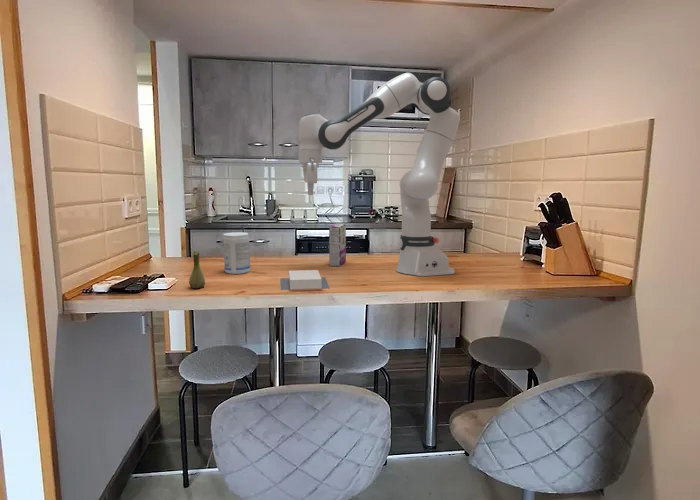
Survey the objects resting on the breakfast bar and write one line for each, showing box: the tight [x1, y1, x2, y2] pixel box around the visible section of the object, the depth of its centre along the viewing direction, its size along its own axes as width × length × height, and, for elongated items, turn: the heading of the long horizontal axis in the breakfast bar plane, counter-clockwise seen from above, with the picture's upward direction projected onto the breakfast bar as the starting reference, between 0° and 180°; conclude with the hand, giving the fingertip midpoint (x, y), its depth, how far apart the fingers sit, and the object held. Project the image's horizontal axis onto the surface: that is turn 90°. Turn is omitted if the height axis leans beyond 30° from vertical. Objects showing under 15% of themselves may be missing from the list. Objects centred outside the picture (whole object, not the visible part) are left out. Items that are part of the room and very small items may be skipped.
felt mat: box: [279, 276, 331, 291], centre depth 156 cm, size 16×16×1 cm
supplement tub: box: [222, 231, 251, 275], centre depth 173 cm, size 10×10×15 cm
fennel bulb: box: [188, 250, 206, 289], centre depth 149 cm, size 6×5×12 cm
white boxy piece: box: [288, 269, 323, 292], centre depth 153 cm, size 10×4×14 cm
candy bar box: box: [328, 223, 347, 267], centre depth 190 cm, size 11×5×16 cm, turn 168°
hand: (310, 195), depth 175 cm, fingers closed
